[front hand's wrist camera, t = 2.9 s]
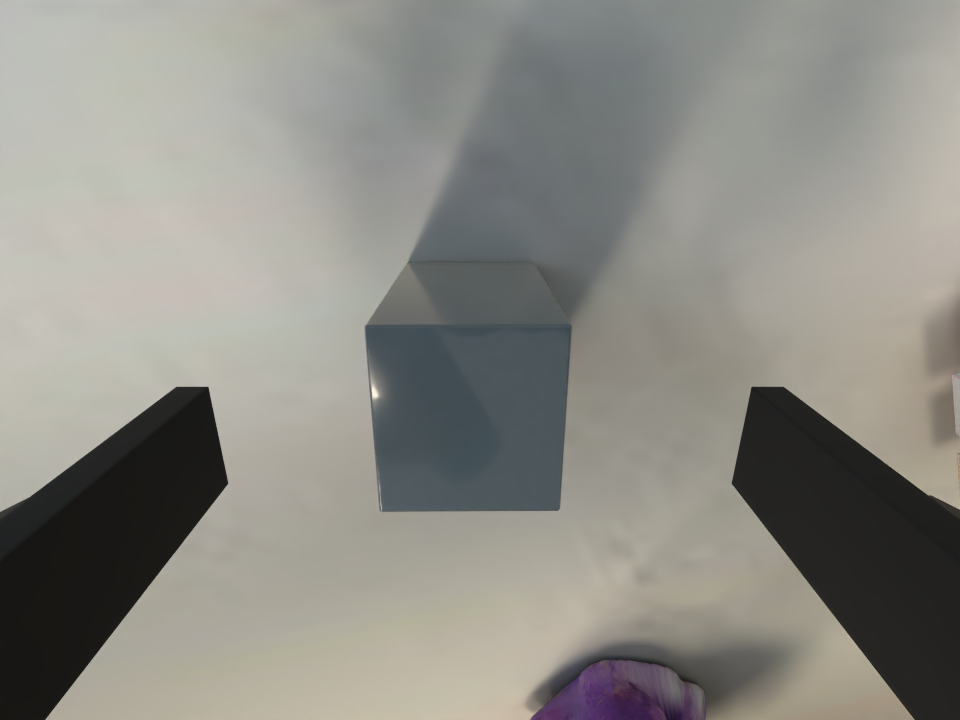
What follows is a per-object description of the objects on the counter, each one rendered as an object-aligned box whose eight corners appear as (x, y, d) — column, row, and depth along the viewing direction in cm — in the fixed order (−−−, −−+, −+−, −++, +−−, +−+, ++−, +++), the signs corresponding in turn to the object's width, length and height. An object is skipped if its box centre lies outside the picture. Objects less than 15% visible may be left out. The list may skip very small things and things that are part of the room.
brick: (534, 261, 21) (572, 325, 13) (529, 388, 23) (560, 512, 15) (406, 262, 21) (363, 325, 13) (412, 388, 23) (379, 512, 15)
